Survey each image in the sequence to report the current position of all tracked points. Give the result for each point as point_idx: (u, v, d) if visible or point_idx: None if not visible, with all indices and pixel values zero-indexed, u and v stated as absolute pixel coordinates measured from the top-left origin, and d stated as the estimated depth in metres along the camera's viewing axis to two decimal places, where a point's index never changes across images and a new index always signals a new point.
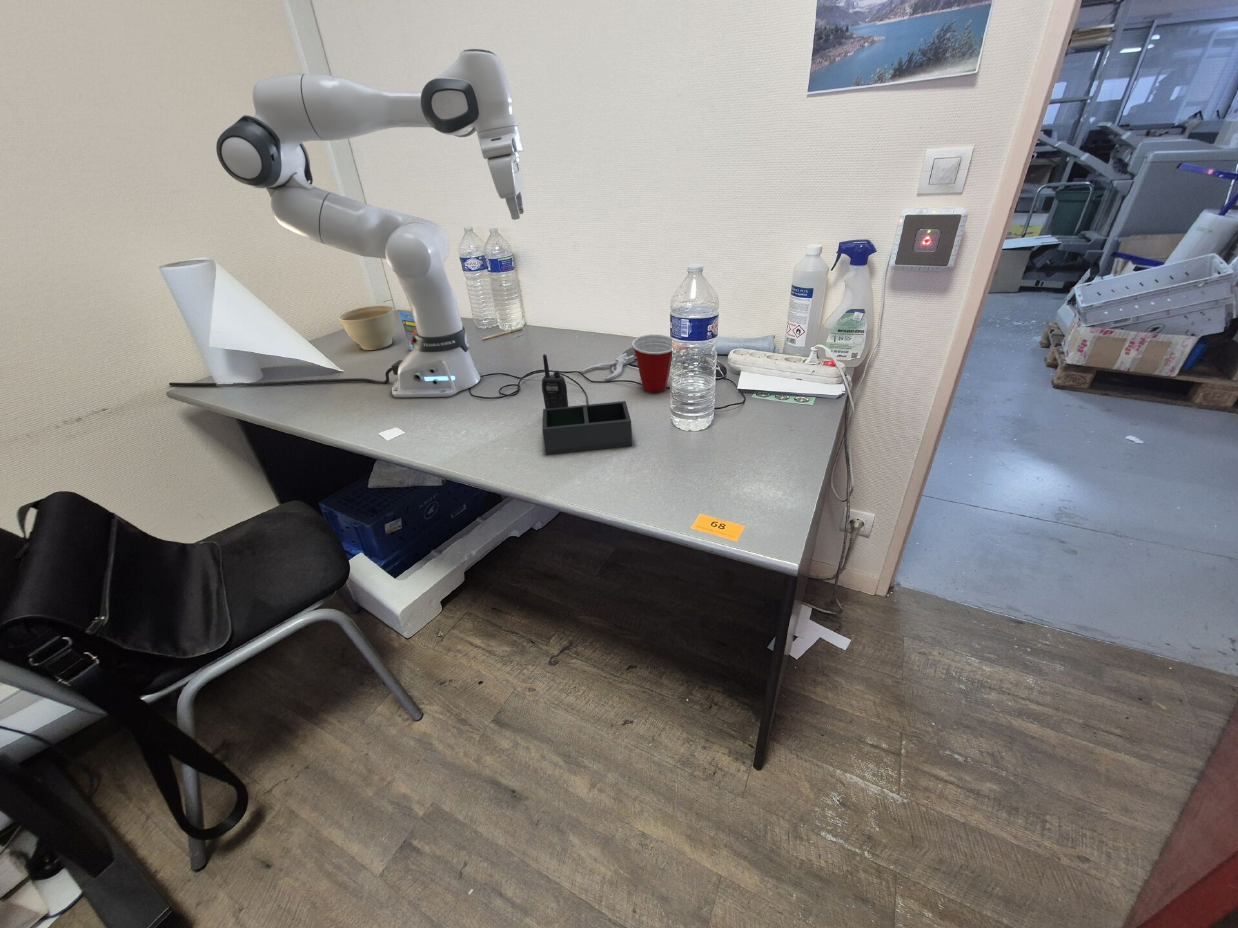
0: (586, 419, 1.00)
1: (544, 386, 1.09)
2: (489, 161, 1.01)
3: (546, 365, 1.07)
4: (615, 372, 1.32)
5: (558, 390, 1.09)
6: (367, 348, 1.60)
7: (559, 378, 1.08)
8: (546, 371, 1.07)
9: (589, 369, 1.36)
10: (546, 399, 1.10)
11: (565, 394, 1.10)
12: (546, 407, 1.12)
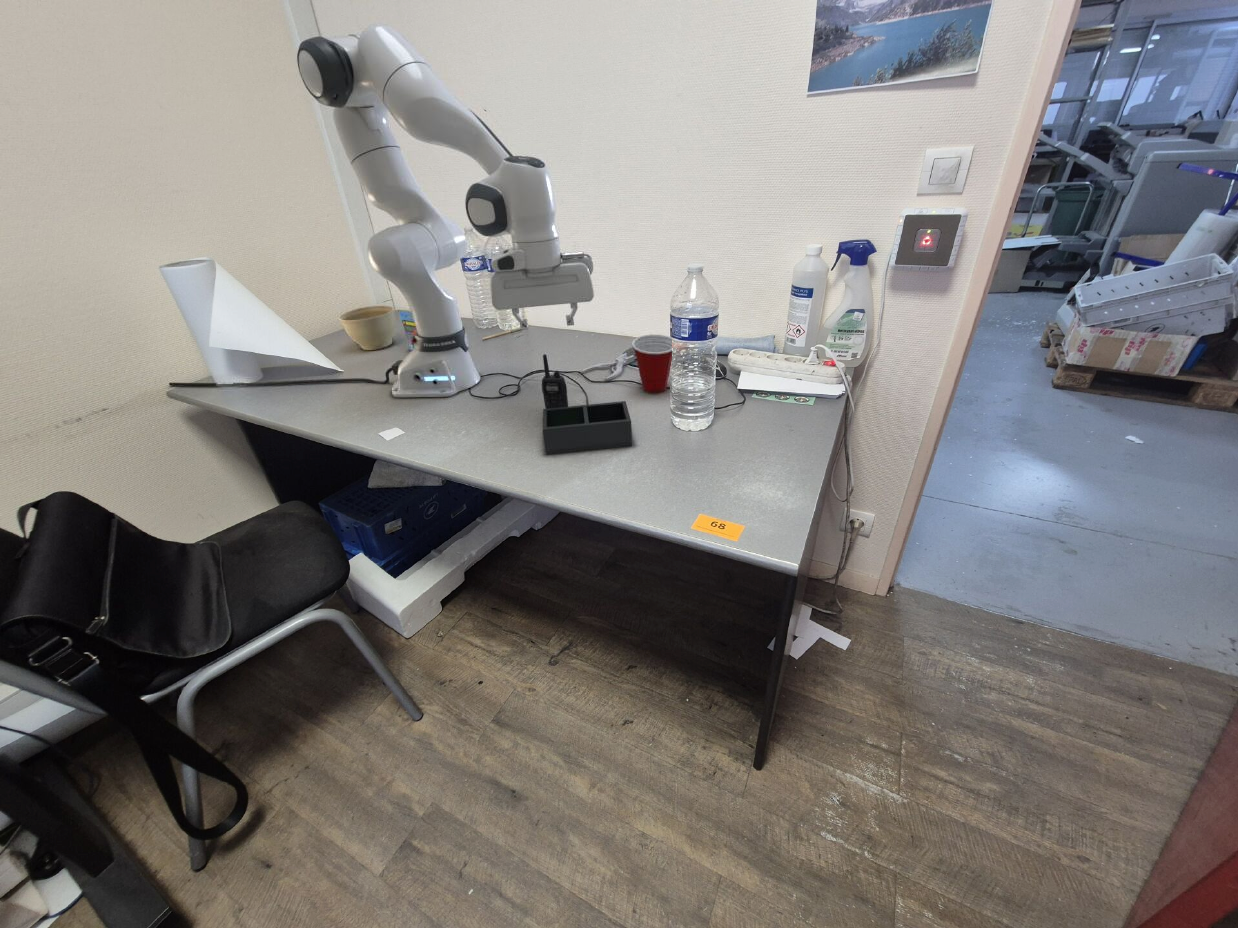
0: (586, 419, 1.00)
1: (544, 386, 1.09)
2: None
3: (546, 365, 1.07)
4: (615, 372, 1.32)
5: (558, 390, 1.09)
6: (367, 348, 1.60)
7: (559, 378, 1.08)
8: (546, 371, 1.07)
9: (589, 369, 1.36)
10: (546, 399, 1.10)
11: (565, 394, 1.10)
12: (546, 407, 1.12)
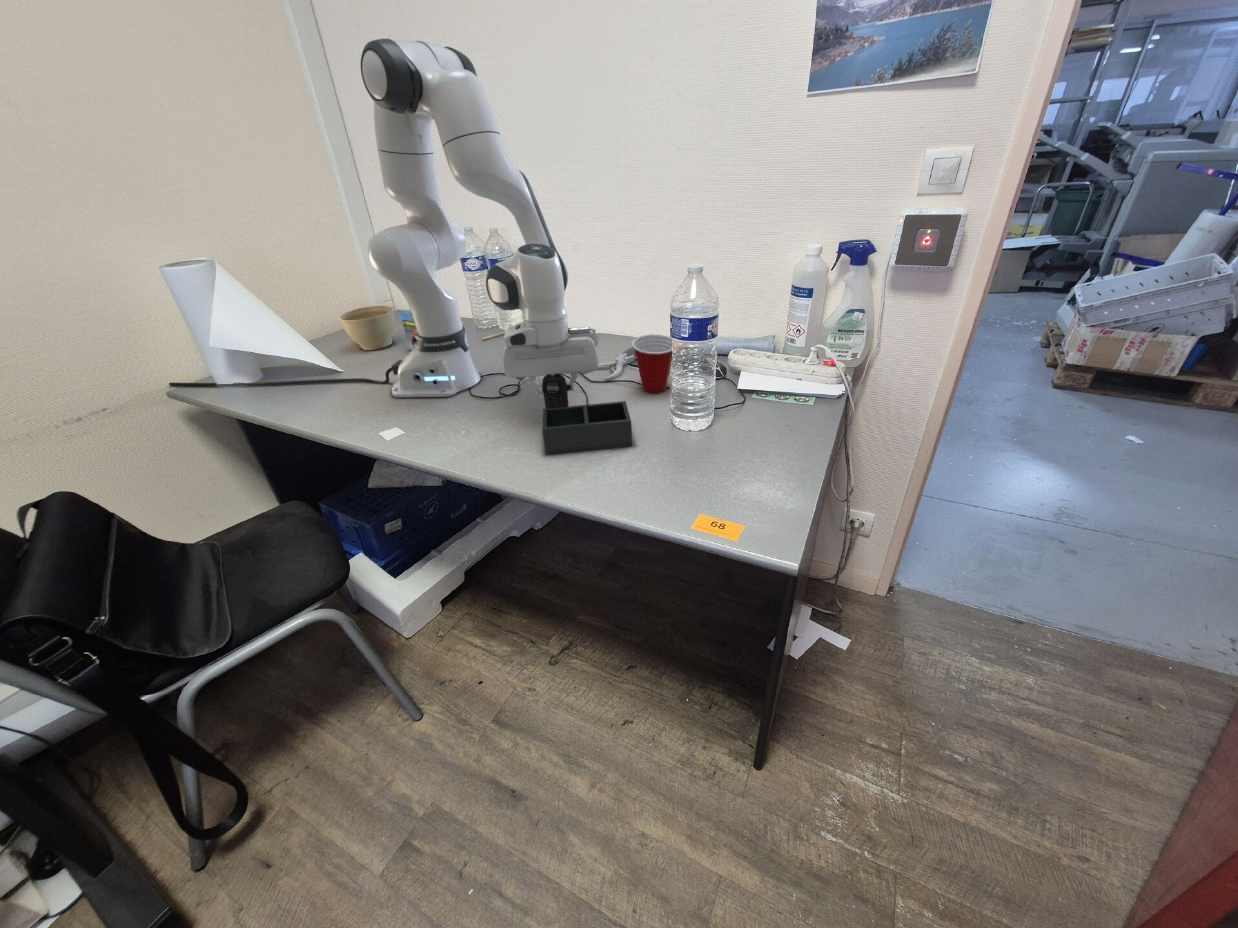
0: (586, 419, 1.00)
1: (545, 386, 1.09)
2: None
3: None
4: (615, 372, 1.32)
5: (559, 390, 1.09)
6: (367, 348, 1.60)
7: (560, 378, 1.08)
8: None
9: None
10: (546, 399, 1.10)
11: (565, 394, 1.10)
12: (546, 407, 1.12)
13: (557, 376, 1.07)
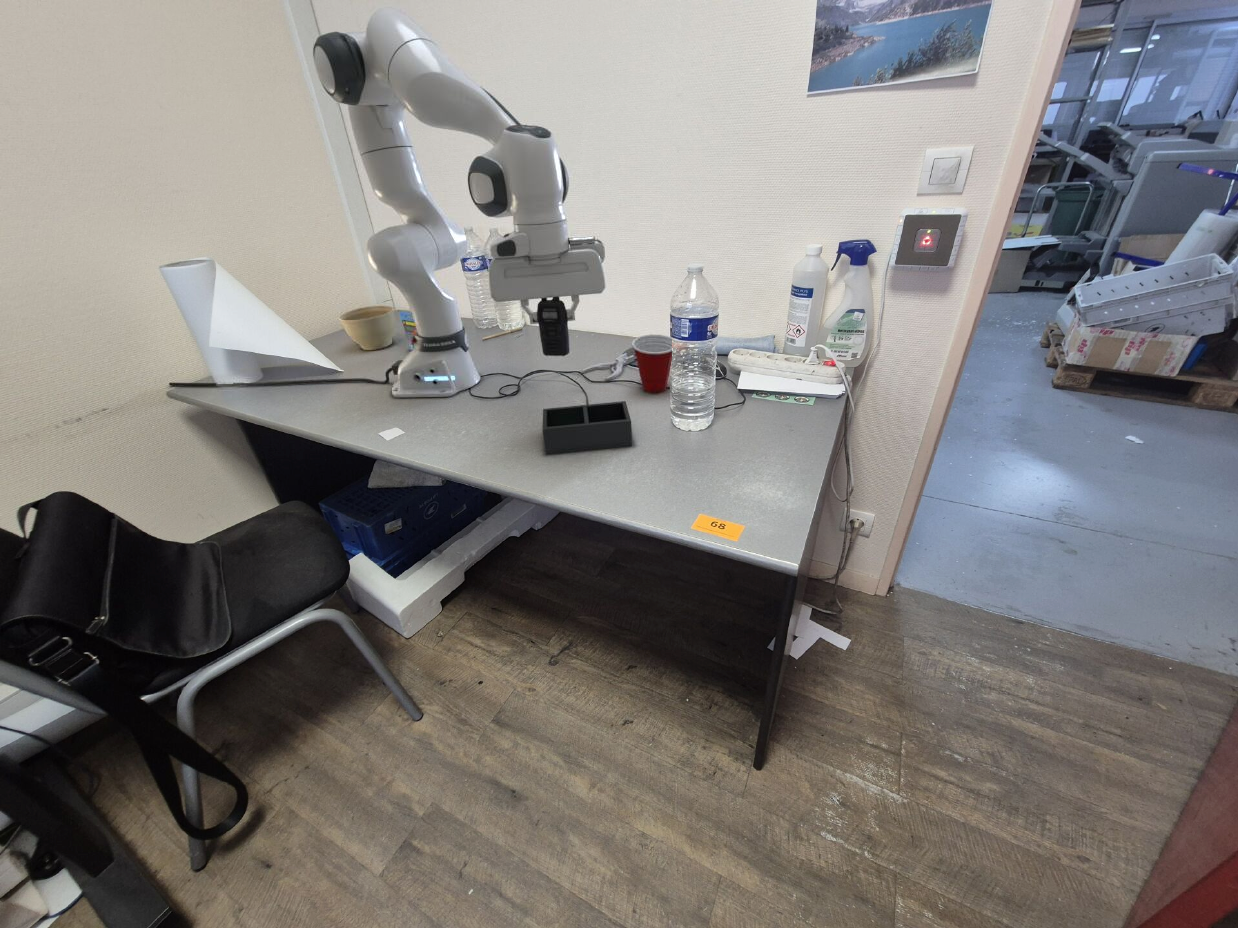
0: (586, 419, 1.00)
1: (540, 313, 0.90)
2: None
3: None
4: (615, 372, 1.32)
5: (557, 318, 0.90)
6: (367, 348, 1.60)
7: (558, 302, 0.89)
8: None
9: (589, 369, 1.36)
10: (542, 330, 0.91)
11: (565, 323, 0.91)
12: (542, 340, 0.93)
13: (555, 300, 0.89)
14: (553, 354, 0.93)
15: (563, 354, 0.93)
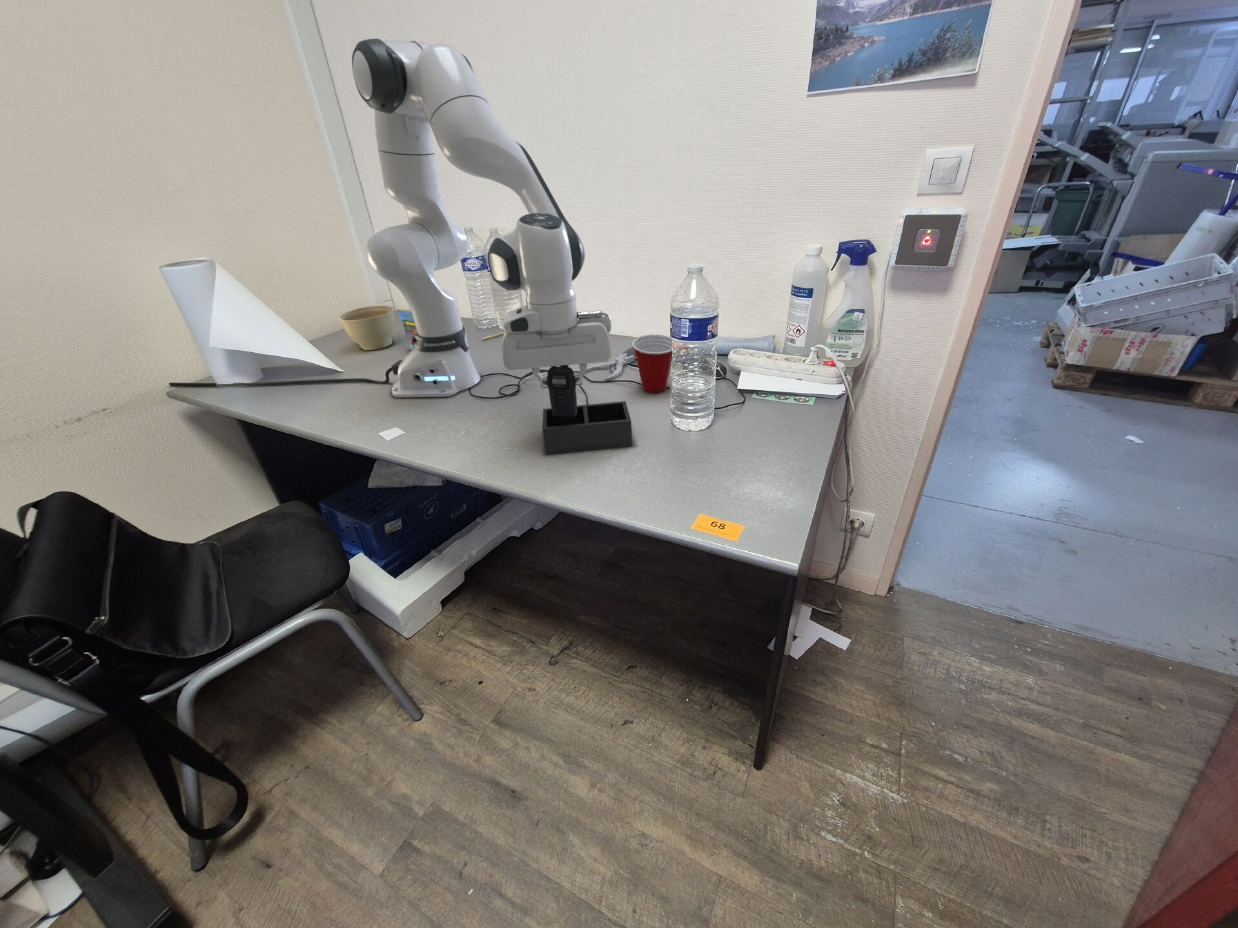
0: (586, 419, 1.00)
1: (550, 379, 0.95)
2: None
3: None
4: (615, 372, 1.32)
5: (566, 384, 0.95)
6: (367, 348, 1.60)
7: (567, 370, 0.94)
8: None
9: (589, 369, 1.36)
10: (552, 394, 0.97)
11: (574, 388, 0.96)
12: (552, 403, 0.98)
13: (564, 368, 0.94)
14: (562, 415, 0.99)
15: (571, 416, 0.99)
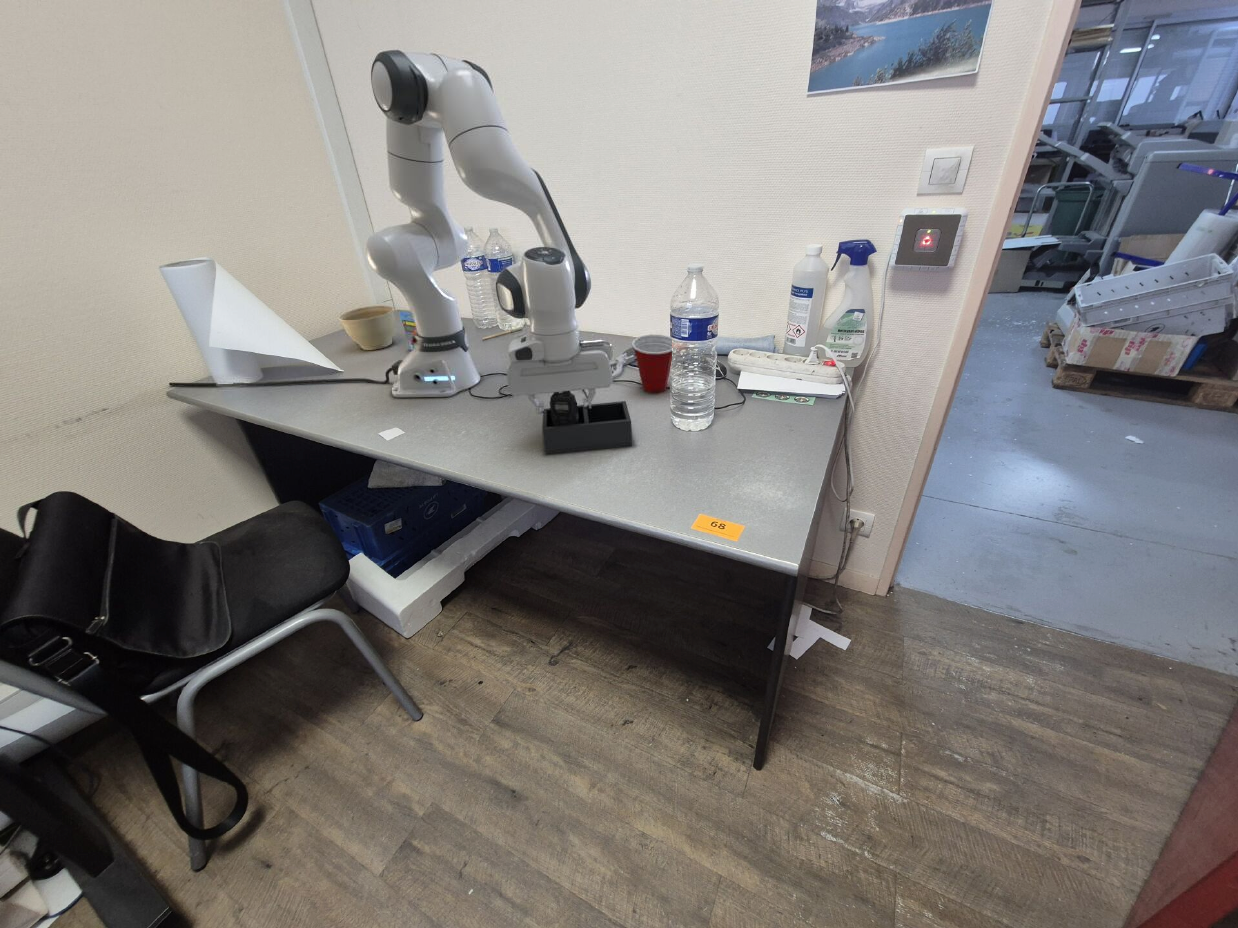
0: (586, 419, 1.00)
1: (553, 405, 0.98)
2: None
3: None
4: (615, 372, 1.32)
5: (568, 409, 0.98)
6: (367, 348, 1.60)
7: (569, 396, 0.97)
8: None
9: None
10: (555, 419, 1.00)
11: (576, 413, 0.99)
12: None
13: (566, 394, 0.97)
14: None
15: None
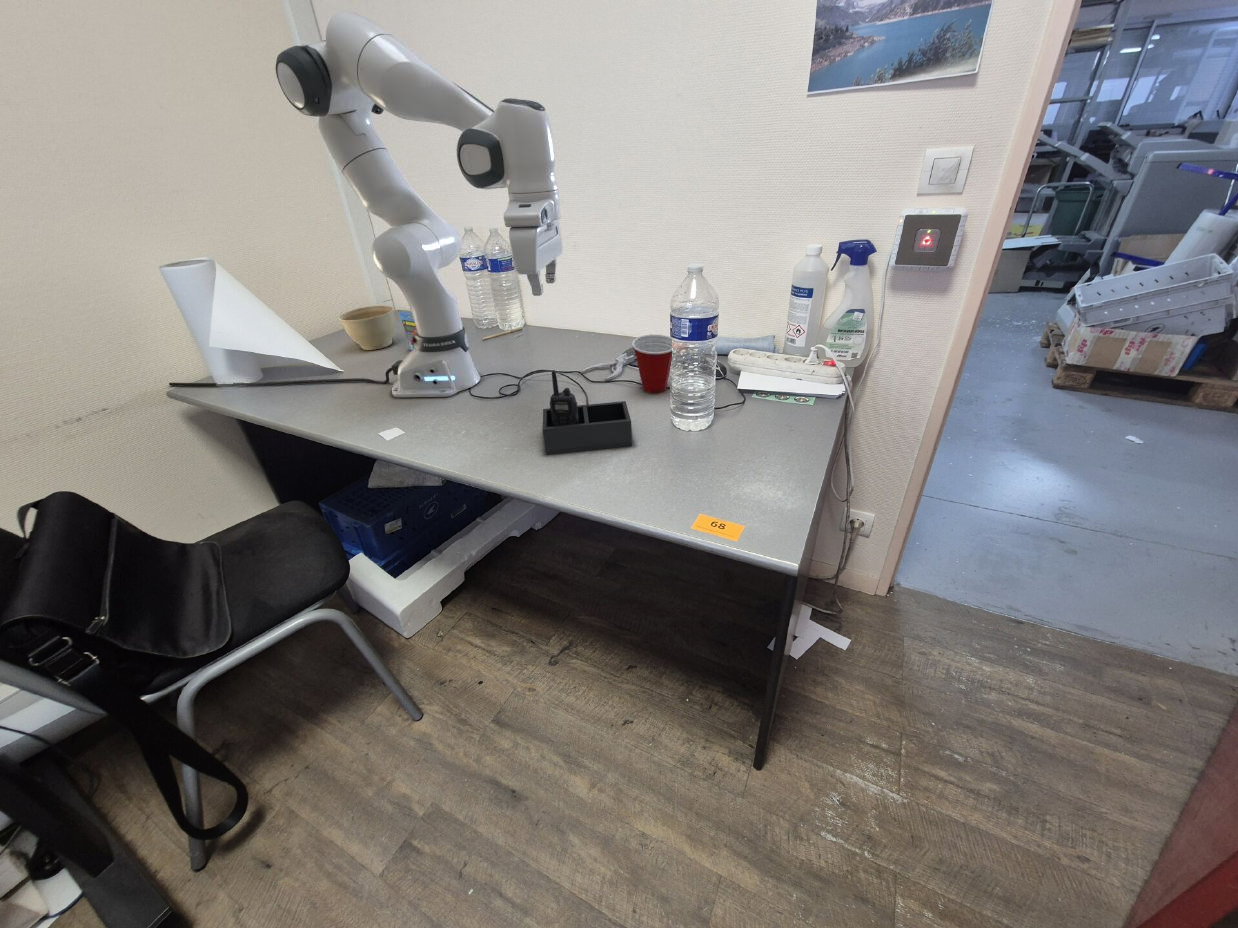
0: (586, 419, 1.00)
1: (553, 405, 0.98)
2: (511, 231, 0.84)
3: (555, 382, 0.96)
4: (615, 372, 1.32)
5: (568, 409, 0.98)
6: (367, 348, 1.60)
7: (569, 396, 0.97)
8: (555, 388, 0.97)
9: (589, 369, 1.36)
10: (555, 419, 1.00)
11: (576, 413, 0.99)
12: None
13: (566, 394, 0.97)
14: None
15: None
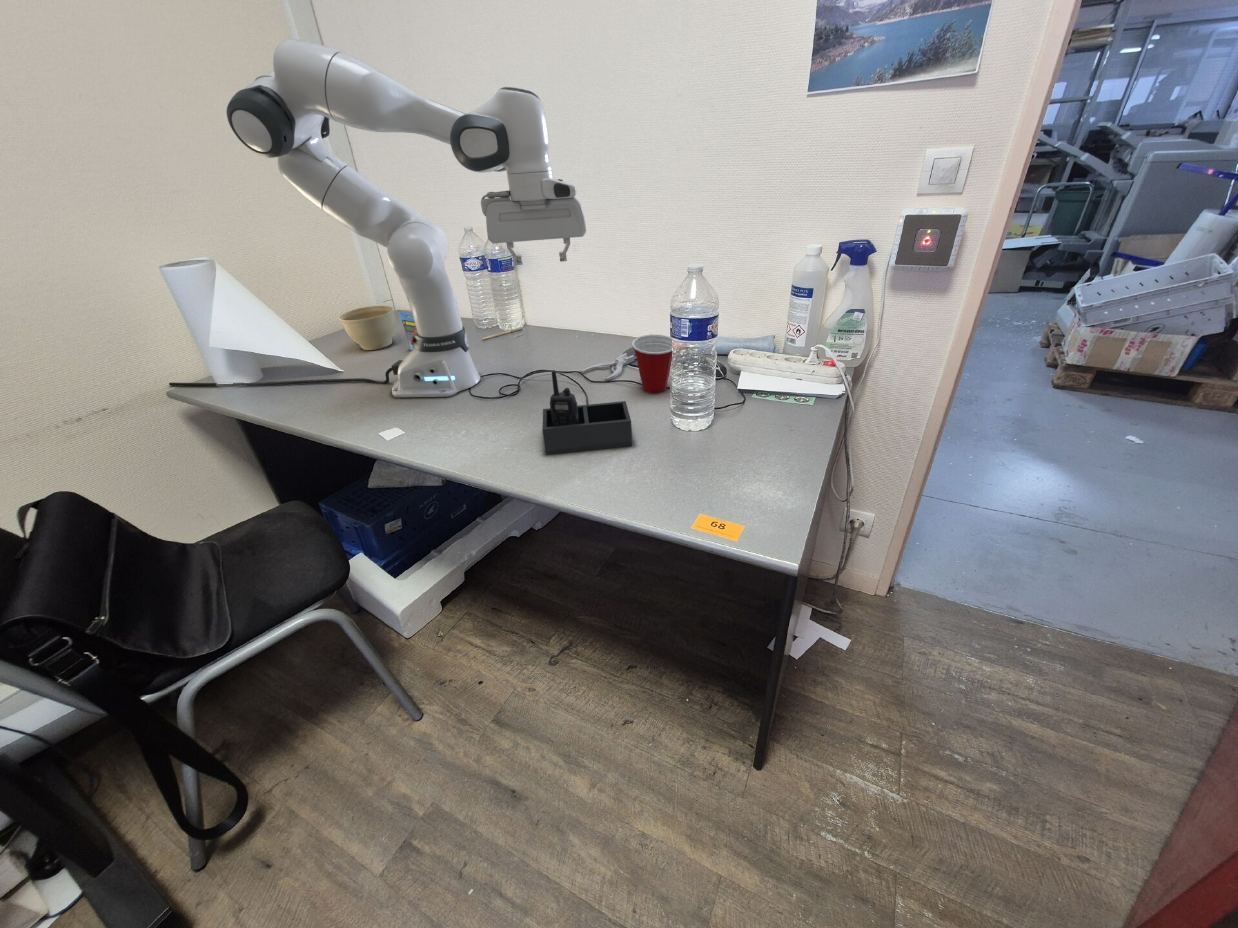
0: (586, 419, 1.00)
1: (553, 405, 0.98)
2: (577, 200, 0.99)
3: (555, 382, 0.96)
4: (615, 372, 1.32)
5: (568, 409, 0.98)
6: (367, 348, 1.60)
7: (569, 396, 0.97)
8: (555, 388, 0.97)
9: (589, 369, 1.36)
10: (555, 419, 1.00)
11: (576, 413, 0.99)
12: None
13: (566, 394, 0.97)
14: None
15: None
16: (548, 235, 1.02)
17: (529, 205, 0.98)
